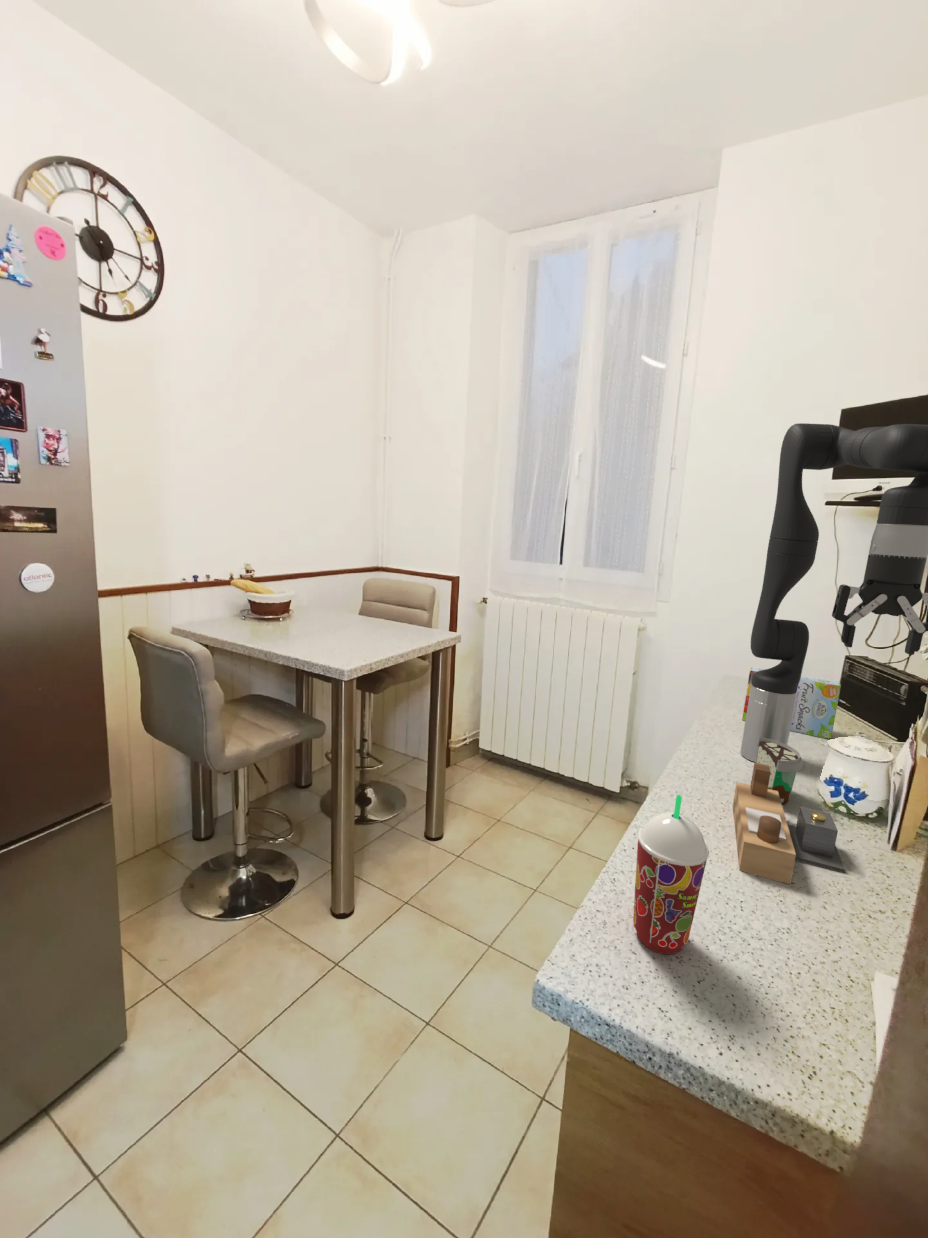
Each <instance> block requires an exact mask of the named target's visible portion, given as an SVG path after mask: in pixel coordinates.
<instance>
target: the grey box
mask: <svg viewBox="0 0 928 1238" xmlns="http://www.w3.org/2000/svg"><path fill="white" fill-rule="evenodd" d="M795 826H796V830H795V834H796V837H797V840H798V844H799V847H800V850H801V851H804V852H808V853H812V854H816V855H820V856H824V857H828V858H832V857H833V852H834V848H835V846H836V843H837V837H838V827H837V826H836V823H835V821H834V819H833V817H832V814H831V813H830V812H826V811H821V810H817V809H812V808H807V807H803V806H799V811H798V816H797V821H796V825H795Z"/></svg>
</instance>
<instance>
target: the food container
mask: <svg viewBox="0 0 928 1238" xmlns="http://www.w3.org/2000/svg"><path fill="white" fill-rule="evenodd" d="M757 746H758V749H757V757H756V762H755V763H759V764H764V765H769V768H770V771H771V773H770V779H769V785H768V789H771V790H775V791H778V793H779V797H780V800H781V804H782V807H784V806H786V805H787V804H788V803H789V801H790V797H791V793H792V790H793V786H794V784H795V779H796V776H797V772H798V771H801V770H802V768H803V760H802V757H801V754H800V752H799V751H798V750H797V749H795V748H794V747H792V746H790V745H788V744H787V745H786V744H783V743H781V742H778V741H774V740H770V739H765V738H759V740H758V743H757Z"/></svg>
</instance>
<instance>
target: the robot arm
mask: <svg viewBox="0 0 928 1238" xmlns="http://www.w3.org/2000/svg"><path fill="white" fill-rule="evenodd" d="M779 455H780V456H779V466H778V479H777V492H776V493H777V494H776V500H775V507H774V514H773V520H772V524H771V530H770V533H769V534H770V535H769V538H768V539H769V540H768V545H767V552H766V561H765V568H764V574H763V580H762V587H761V592H760V596H759V601H758V605H757V610H756V612H755V613H756V614H755V618H754V622H753V625H752V630H751V635H750V650H751V653H752V655H753V656H754V657H755V658H760V659H766V660H777V661H780V662H779V663H778V664H777V665H775V666H772V667H770V668H765V669H766V670H761V671H757V672H755V673H754V674H753V677H752V683H751V689H750V696H749V702H748V708H747V714H746V720H745V721H744V727H743V733H742V739H741V744H740V745H741V746H740V751H739V753H740V755H741V756H742V757H743V758H744V759H747V760H749V761H751V762H753V763H756V757H757V749H758V746H757V743H758V740H759V738H765V739H770V740H774V741H778V742H781V743H783V744H786V745H788V743H789V738H790V732H791V731H790V727H791V721H792V716H793V710H794V704H795V699H796V693H797V687H798V684H799V682H800V678H801V675H802V673H803V669H804V663H805V659H806V655H807V651H808V647H809V642H810V632H809V628H808V626H807V624H806V623H804V622H803V621H800V620H791V619H790V620H789V619H778V618H776V615H777V613H778V610H779V607H780V606H781V603H782V602H783V600H784V598H785V597H786V596H787V595H788V593H789V592H791V590H792V589H793V588H794V587H795V586H796V585H797V584H798V583H799V582H800V581H801V579H803V577H804V576H806V574H808V572H809V571H810V570H811V568H812V567H813V565H814V563H815V559H816V555H817V549H818V544H819V539H820V531H819V527H818V524H817V521H816V519H815V517H814V514H813V513H812V511H811V508H810V507H809V505H808V503H807V501H806V499H805V494H804V492H803V491H804V489H803V472H804V470H815V471H821V470H823V471H824V470H829V469H834V468H837V467H838V468H839V467H843V466H848V465H849V466H853V467H855V468H861V469H873V470H887V471H898V472H899V471H900V472H901V471H902V472H916V474H915V476H914V478H913V479H912V481H911V482H910V483H909V484H907V485H903V486H896V487H890V488H888V489H886V490H885V491H884V492H883V494H882V496H881V499H880V503H879V509H878V515H877V520H876V525H875V528H874V531H873V534H872V537H871V541H870V545H869V550H868V555H867V561H866V566H865V571H864V576H863V581H862V583H861V585H860V586H859V587H857V586H851V585H847V584H840V585H839V587H838V590H837V594H836V598H835V600H834V601H835V602H834V604H833V609H832V613H831V616H832V617H831V618H834V619H835V620H836V621H839V622H841V623H842V624H843V627H842V631H841V636H840V640H841V643H843V645H844V647H846V648H852V647H853V643H854V637H855V634H856V629H857V628H856V627H857V626H855V624H856V623H857V622H859V621H860V620H861V619H862V618H865V617H866V616H868V615H869V614H870V613H873V614H874V615H889V616H892V617H899V616H901V617H902V618H903V619H904V620H905V621H906V623H907V624H908V626H909V627H910V628H911V630H908V633H907V638H906V643H905V647H904V653H905V654H907V655H913V656H914V655H915V652H917V653H918V652H919V651H920V649H921V645H922V641H923V636H924V634H925V633H926V632H928V592H922V590H921V587H922V582H923V578H924V577H923V576H924V573H925V569H926V564H927V558H928V424H918V423H917V424H916V423H901V424H897V423H896V424H891V425H888V426H871V427H864V428H860V429H857V430H853V429H848V428H845V427H842V426H839V425H835V424H831V423H829V424H827V423H826V424H825V423H794V424H793V425H791V426H790V427H789V428H788V429H787V431H786V432H785V435H784V437H783V440H782V444H781V448H780V454H779ZM856 594H857V595H858V596H859V598H860V599H861V602H860V603H859V604H858V605H857V606H855V607H854V608H853V609H852V611H850V612H849V613H848V614H845V613H846V612H845V611H846V608H847V605H848V602H849V601H848V600H850V599H853V598H854V596H855V595H856ZM921 600H922V601H923V604H924V605H925V606H927V609H926V616H925V622H922V621H921V620H920V618H919V616H918V614H917V612H916V611H915V610H914V608H913V607H914V606H916V605H917V604H918V603H919V602H920V601H921Z"/></svg>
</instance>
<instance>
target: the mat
mask: <svg viewBox="0 0 928 1238" xmlns="http://www.w3.org/2000/svg"><path fill="white" fill-rule="evenodd" d="M787 825H788V829H789V832H790V836H791V839H792V843H793V846H794V850H795V853H796V857H795V861H796V862H800V863H805V864H808V865H813V866H816V867H818V868H819V867H820V868H822V869H823V868H824V869H827V870H831V871H836V872H838V873H843V874H845V873H846V867H845V865H844V863H843V860H842V858H841V855H840V853H839V851H838V849H837V848H838V847H837V846H836V845H835V848H834V852H833V857H832V858H828V857H824V856H820V855H816V854H812V853H808V852H804V851H801V850H800V847H799V844H798V840H797V837H796V834H795V830H796V825H793V824H790V823H789V824H788V823H787Z"/></svg>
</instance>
